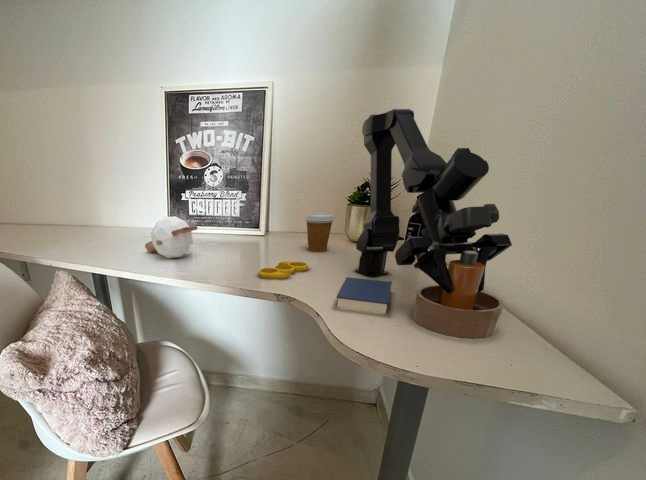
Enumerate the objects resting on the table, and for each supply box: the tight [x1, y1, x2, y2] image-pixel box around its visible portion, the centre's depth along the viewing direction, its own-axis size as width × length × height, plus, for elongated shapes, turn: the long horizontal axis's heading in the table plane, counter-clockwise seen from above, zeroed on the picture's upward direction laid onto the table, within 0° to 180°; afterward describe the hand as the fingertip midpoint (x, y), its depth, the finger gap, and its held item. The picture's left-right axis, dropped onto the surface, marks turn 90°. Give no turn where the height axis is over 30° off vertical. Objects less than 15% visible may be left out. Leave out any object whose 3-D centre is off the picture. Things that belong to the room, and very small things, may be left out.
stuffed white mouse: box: [144, 216, 198, 259], centre depth 110 cm, size 14×25×14 cm, turn 51°
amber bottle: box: [440, 251, 486, 310], centre depth 59 cm, size 5×5×13 cm
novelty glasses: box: [258, 261, 309, 280], centre depth 94 cm, size 17×2×10 cm
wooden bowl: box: [411, 284, 505, 339], centre depth 61 cm, size 13×13×6 cm
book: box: [336, 276, 392, 314], centre depth 73 cm, size 14×10×3 cm
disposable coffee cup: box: [305, 213, 334, 253], centre depth 116 cm, size 10×10×12 cm
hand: (465, 291), depth 58 cm, fingers closed on amber bottle, 5 cm apart
